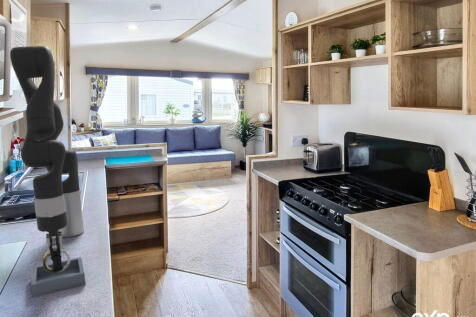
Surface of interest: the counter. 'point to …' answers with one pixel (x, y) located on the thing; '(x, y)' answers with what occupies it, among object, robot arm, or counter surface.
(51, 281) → the dish
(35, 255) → the counter surface
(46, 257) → the ring
